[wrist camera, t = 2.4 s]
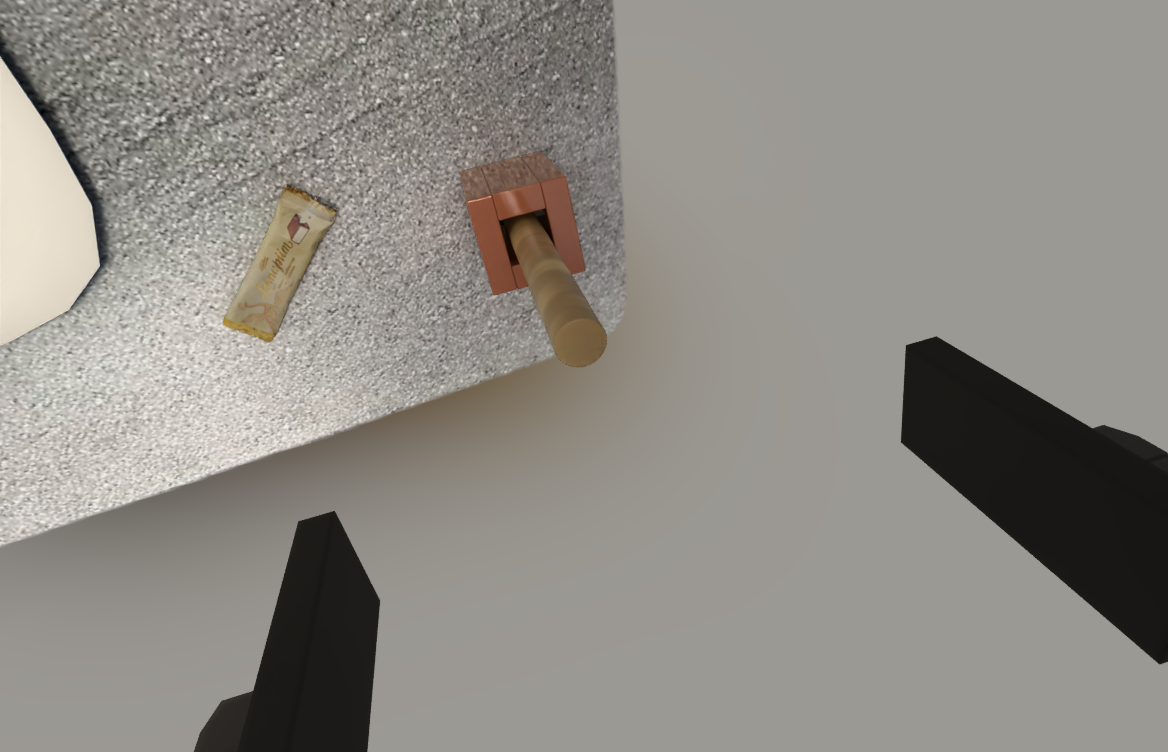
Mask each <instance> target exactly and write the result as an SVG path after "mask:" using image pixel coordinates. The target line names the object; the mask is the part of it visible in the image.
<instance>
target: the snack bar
mask: <svg viewBox="0 0 1168 752" xmlns="http://www.w3.org/2000/svg"><path fill="white" fill-rule="evenodd" d="M298 191H299V192H298ZM279 197H280V202H279V204H278V206H277V208H276V211H275V214H274V217H273V220H272V222H271V223H270V226H269V228H268V231H267V234H266V235H265V237H264V239H263V241H262V243H261V245H260V247H259V249H258V251H257V253H256V255H255V258H254V260H253V262H252V264H251V266H250V268H249V270H248V272H247V274H246V276H245V278H244V280H243V282H242V284H241V286H240V288H239V290H238V292H237V294H236V296H235V298H234V300H233V301H232V303H231V305H230V307H229V309H228V311H227V313H226V315H225V317H224V320H223V325H225V326H227V327H229V328H233V329H234V330H239V332H242V333H247V334H248V335H253V336H254V337H258V338H259V339H262V340H264V341H265V342H271V341H272V340H273V338H274V337H275V335H276V333H277V331H278V329H279V326H280V324H281V322H282V320H283V317H284V315H285V312H286V309H287V306H288V305H289V302H290V301H291V299H292V296H293V295H294V293H295V291H296V289H297V287H298V285H299V283H300V281H301V279H302V277H303V275H304V274H305V271H306V269H307V267H308V265H309V263H310V261H311V260H312V258H313V255H314V253H315V251H316V250H317V248H318V246H319V244H320V243H321V240H322V239H323V237H324V236H325V234H326V232H327V230H328V228H329V227H330V226H331V225H332V224H333V223H334V219H335V216H336V213H337V211H338V209H337V208H335V207H332V206H331V205H330V204H329V205H327V204H325V205H324V206H325V207H324V206H323V205H322V204H319V203H318V202H320V199H318V202H317V201H316V200H317V197H314V198H315V199H314V200H312V198H311V196H307V194H306V193H305V192H301V191H300V189H297V188H295V187H294V186H292V187H289V186H288V184H286V185H284V187H283V189H282V195H281V196H279ZM329 207H330V209H329ZM333 209H335V210H337V211H335V212H334V211H333ZM332 219H333V220H332Z"/></svg>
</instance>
